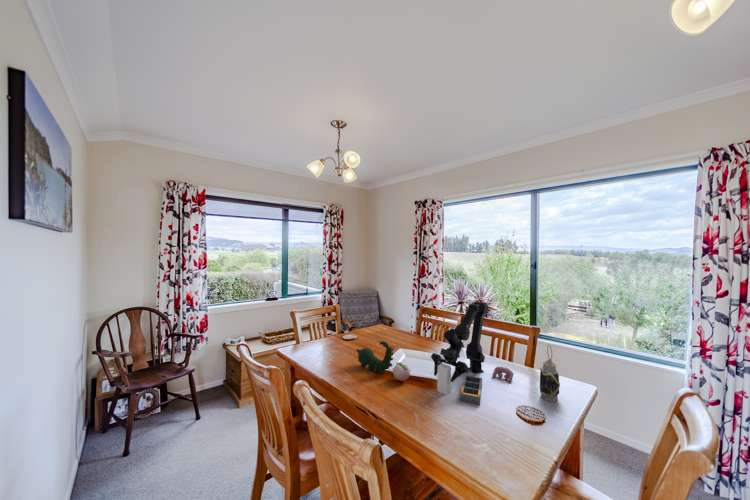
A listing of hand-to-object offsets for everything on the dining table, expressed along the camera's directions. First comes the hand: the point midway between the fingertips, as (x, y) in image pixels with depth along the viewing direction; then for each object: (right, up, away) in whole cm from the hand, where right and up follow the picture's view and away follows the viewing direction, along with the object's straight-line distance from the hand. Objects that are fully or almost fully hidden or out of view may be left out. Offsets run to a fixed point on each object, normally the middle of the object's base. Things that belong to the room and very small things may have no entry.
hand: (442, 378), depth 137 cm
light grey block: (+1, -7, +1) cm, 7 cm away
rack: (+14, -7, 0) cm, 16 cm away
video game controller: (+36, -7, +15) cm, 40 cm away
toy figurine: (-34, -7, +26) cm, 43 cm away
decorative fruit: (-19, -7, +11) cm, 23 cm away
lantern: (+49, -7, -5) cm, 50 cm away
